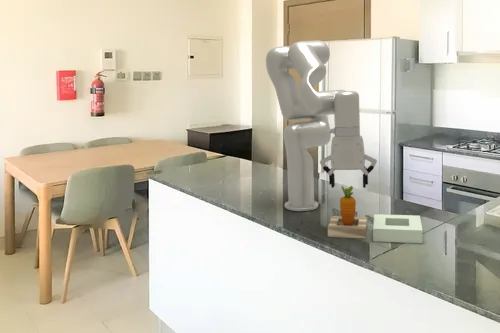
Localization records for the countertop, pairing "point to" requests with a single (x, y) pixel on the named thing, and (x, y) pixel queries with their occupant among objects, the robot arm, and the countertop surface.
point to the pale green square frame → (397, 228)
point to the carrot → (347, 207)
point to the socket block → (347, 228)
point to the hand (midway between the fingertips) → (348, 186)
